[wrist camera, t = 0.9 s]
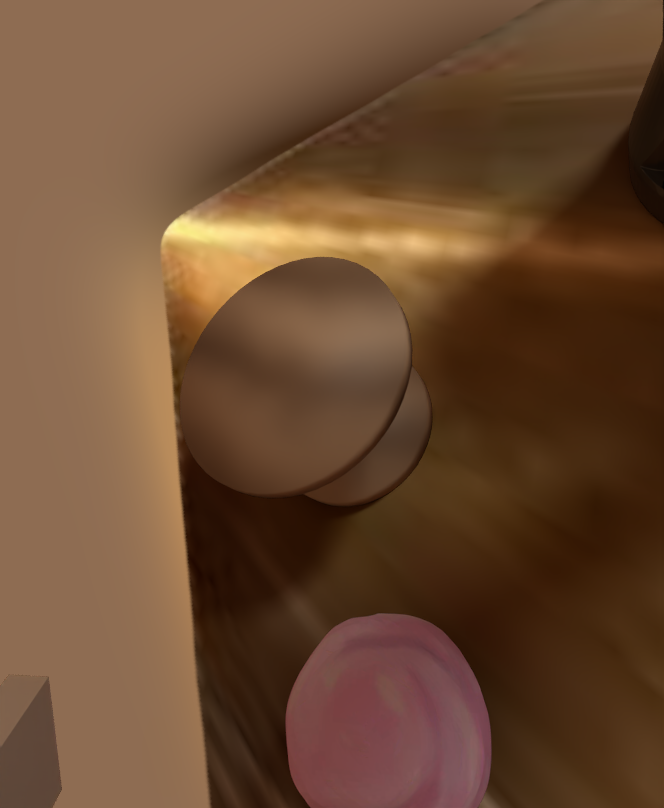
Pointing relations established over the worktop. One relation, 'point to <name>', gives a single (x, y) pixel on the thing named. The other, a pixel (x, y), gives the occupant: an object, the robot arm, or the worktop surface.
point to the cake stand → (307, 387)
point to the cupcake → (388, 719)
